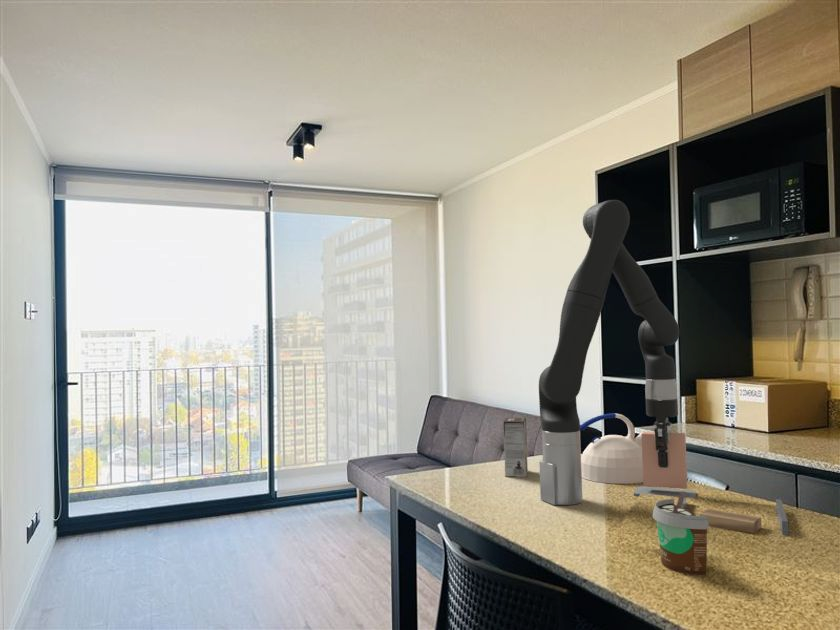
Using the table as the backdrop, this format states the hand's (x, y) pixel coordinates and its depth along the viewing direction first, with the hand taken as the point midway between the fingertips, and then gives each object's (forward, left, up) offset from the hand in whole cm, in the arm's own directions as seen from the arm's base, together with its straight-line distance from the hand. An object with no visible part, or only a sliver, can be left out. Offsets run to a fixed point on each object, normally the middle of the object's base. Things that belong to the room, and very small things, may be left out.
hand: (664, 465), depth 156 cm
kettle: (+3, +23, -8) cm, 24 cm away
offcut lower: (-10, -29, -8) cm, 32 cm away
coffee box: (-21, +38, -8) cm, 44 cm away
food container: (-33, -39, -8) cm, 52 cm away
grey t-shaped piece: (0, 0, -7) cm, 7 cm away
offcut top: (-10, -29, -6) cm, 32 cm away
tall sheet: (0, 0, -5) cm, 5 cm away
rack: (-6, -25, -7) cm, 27 cm away
